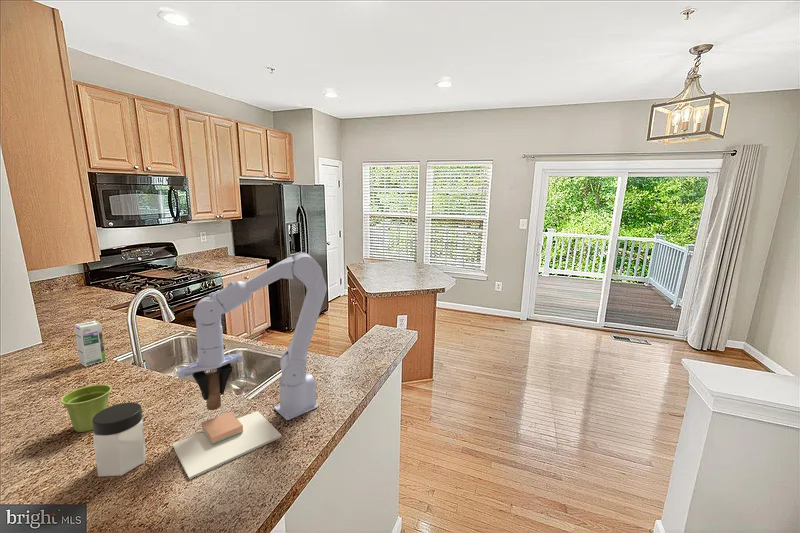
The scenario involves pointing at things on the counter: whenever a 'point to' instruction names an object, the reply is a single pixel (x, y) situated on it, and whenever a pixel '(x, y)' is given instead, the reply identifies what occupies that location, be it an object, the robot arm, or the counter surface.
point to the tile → (222, 428)
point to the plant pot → (86, 405)
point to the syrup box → (90, 342)
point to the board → (224, 445)
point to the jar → (119, 439)
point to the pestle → (213, 390)
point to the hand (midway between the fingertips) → (213, 395)
